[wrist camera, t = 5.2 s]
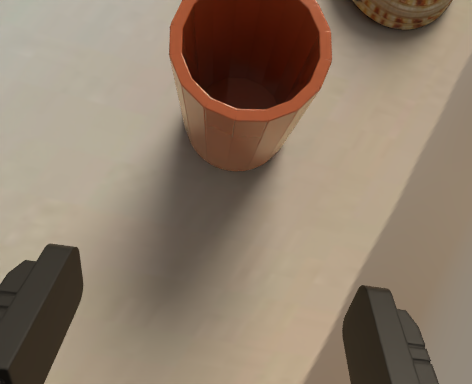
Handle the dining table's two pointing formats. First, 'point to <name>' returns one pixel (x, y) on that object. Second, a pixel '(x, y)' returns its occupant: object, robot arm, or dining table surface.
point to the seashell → (403, 12)
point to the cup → (246, 74)
